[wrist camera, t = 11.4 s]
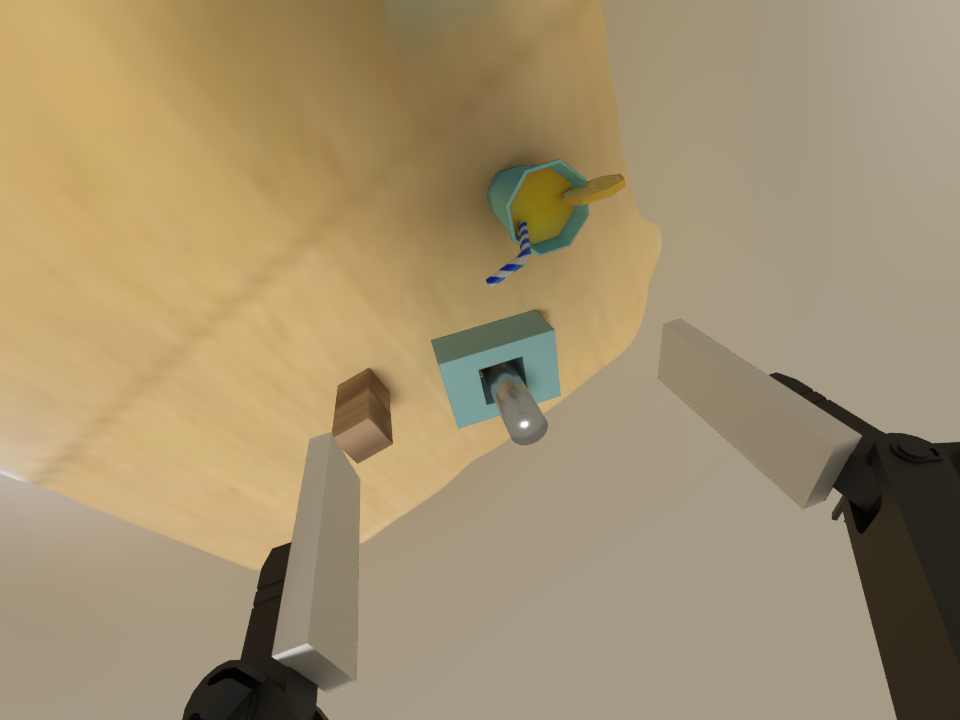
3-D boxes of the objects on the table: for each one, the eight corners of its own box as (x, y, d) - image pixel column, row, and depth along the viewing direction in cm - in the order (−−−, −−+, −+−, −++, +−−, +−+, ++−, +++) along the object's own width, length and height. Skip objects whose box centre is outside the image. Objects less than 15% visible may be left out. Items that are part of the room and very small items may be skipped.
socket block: (431, 340, 47) (438, 364, 42) (535, 309, 49) (554, 329, 44) (449, 400, 53) (458, 428, 48) (543, 371, 54) (560, 395, 49)
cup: (475, 268, 44) (517, 321, 32) (432, 214, 40) (460, 250, 27) (572, 186, 42) (657, 208, 30) (537, 120, 38) (619, 113, 25)
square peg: (337, 385, 47) (331, 439, 39) (368, 368, 47) (368, 418, 39) (359, 408, 50) (357, 463, 41) (389, 392, 50) (392, 443, 41)
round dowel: (474, 348, 49) (507, 421, 37) (503, 340, 50) (546, 409, 37) (479, 373, 52) (513, 449, 39) (507, 365, 52) (549, 438, 40)
